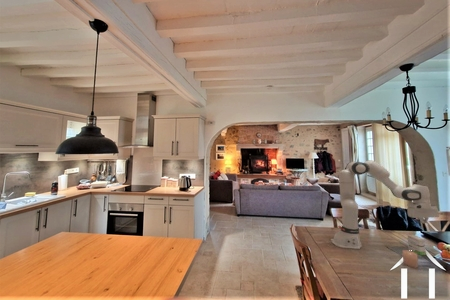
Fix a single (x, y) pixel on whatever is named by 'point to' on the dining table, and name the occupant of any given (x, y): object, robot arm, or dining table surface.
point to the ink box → (416, 244)
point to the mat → (399, 251)
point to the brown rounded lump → (410, 258)
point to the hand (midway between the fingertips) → (424, 223)
